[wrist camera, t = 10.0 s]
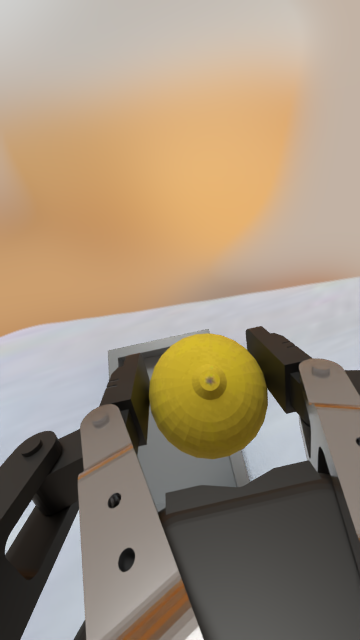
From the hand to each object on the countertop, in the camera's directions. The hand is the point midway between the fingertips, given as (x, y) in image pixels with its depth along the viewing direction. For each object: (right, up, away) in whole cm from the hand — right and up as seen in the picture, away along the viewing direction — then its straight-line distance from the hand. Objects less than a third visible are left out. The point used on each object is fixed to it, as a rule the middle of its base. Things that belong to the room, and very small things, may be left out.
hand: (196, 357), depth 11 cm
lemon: (+1, -3, +3) cm, 5 cm away
